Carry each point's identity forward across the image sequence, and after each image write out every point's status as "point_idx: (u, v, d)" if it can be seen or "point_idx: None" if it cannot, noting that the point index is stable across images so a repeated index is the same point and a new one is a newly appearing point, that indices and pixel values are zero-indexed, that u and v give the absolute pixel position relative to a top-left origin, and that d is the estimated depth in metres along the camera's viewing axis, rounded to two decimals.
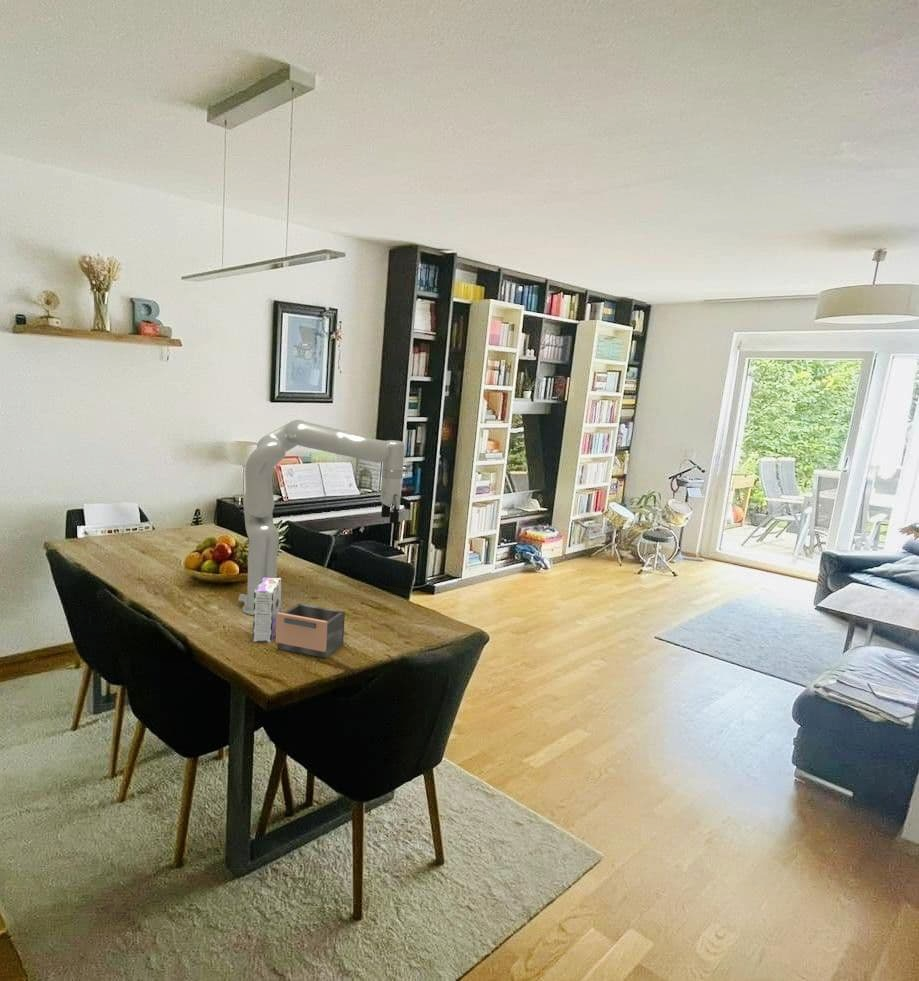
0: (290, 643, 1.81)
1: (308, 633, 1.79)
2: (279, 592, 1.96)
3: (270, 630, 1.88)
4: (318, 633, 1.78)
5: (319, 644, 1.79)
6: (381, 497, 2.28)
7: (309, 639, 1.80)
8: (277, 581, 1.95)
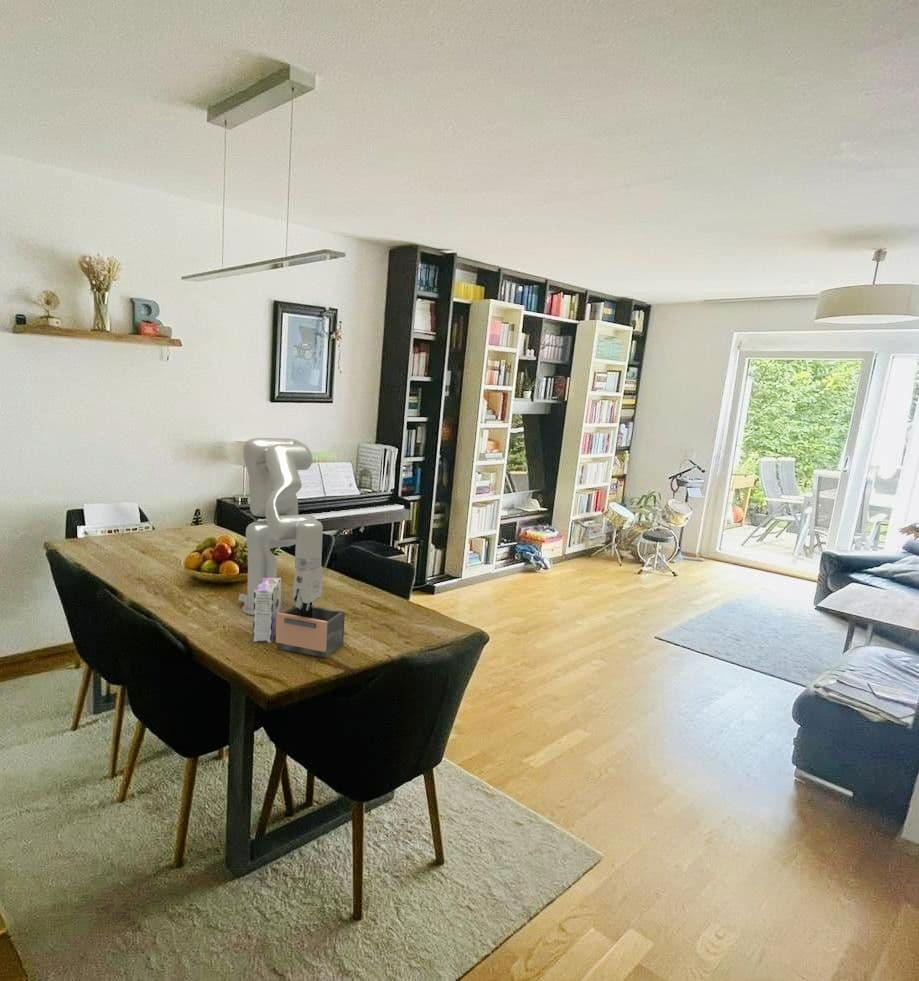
0: (290, 643, 1.81)
1: (308, 633, 1.79)
2: (279, 592, 1.96)
3: (270, 630, 1.88)
4: (318, 633, 1.78)
5: (319, 644, 1.79)
6: (311, 596, 1.78)
7: (309, 639, 1.80)
8: (277, 581, 1.95)
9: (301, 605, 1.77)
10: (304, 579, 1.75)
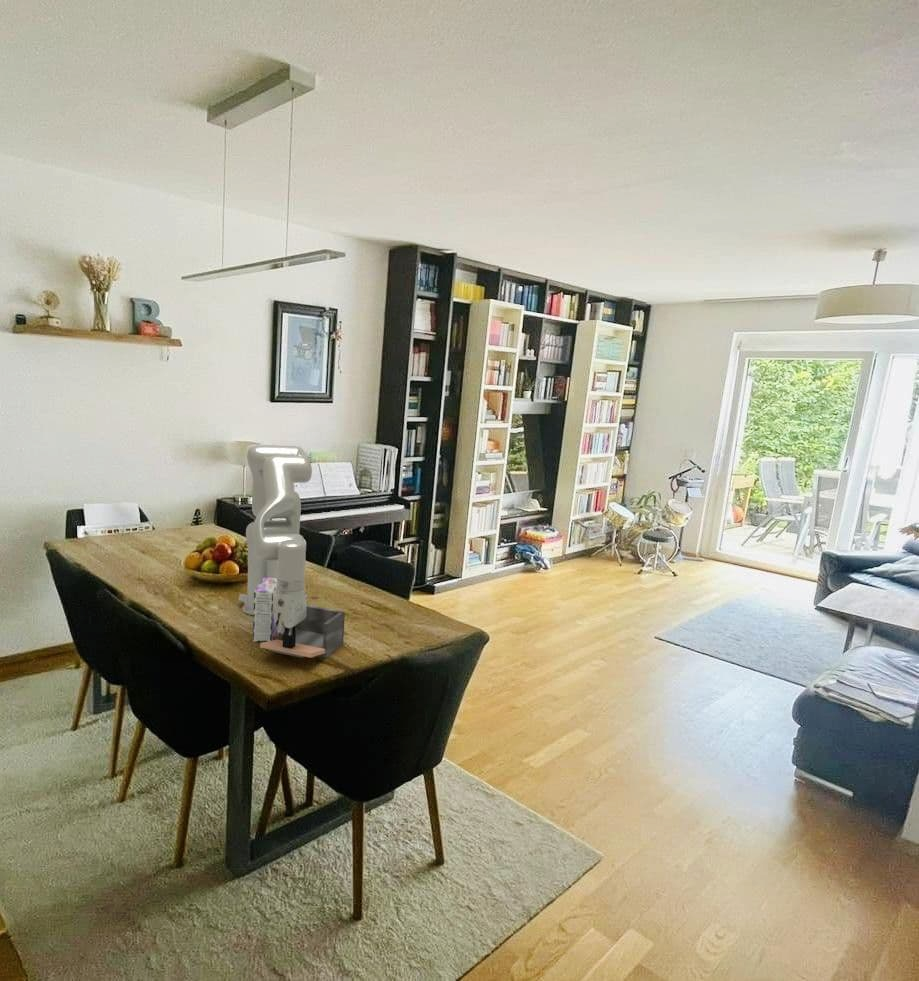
0: None
1: None
2: None
3: (270, 630, 1.88)
4: None
5: None
6: (293, 620, 1.70)
7: None
8: None
9: (283, 630, 1.69)
10: (286, 602, 1.67)
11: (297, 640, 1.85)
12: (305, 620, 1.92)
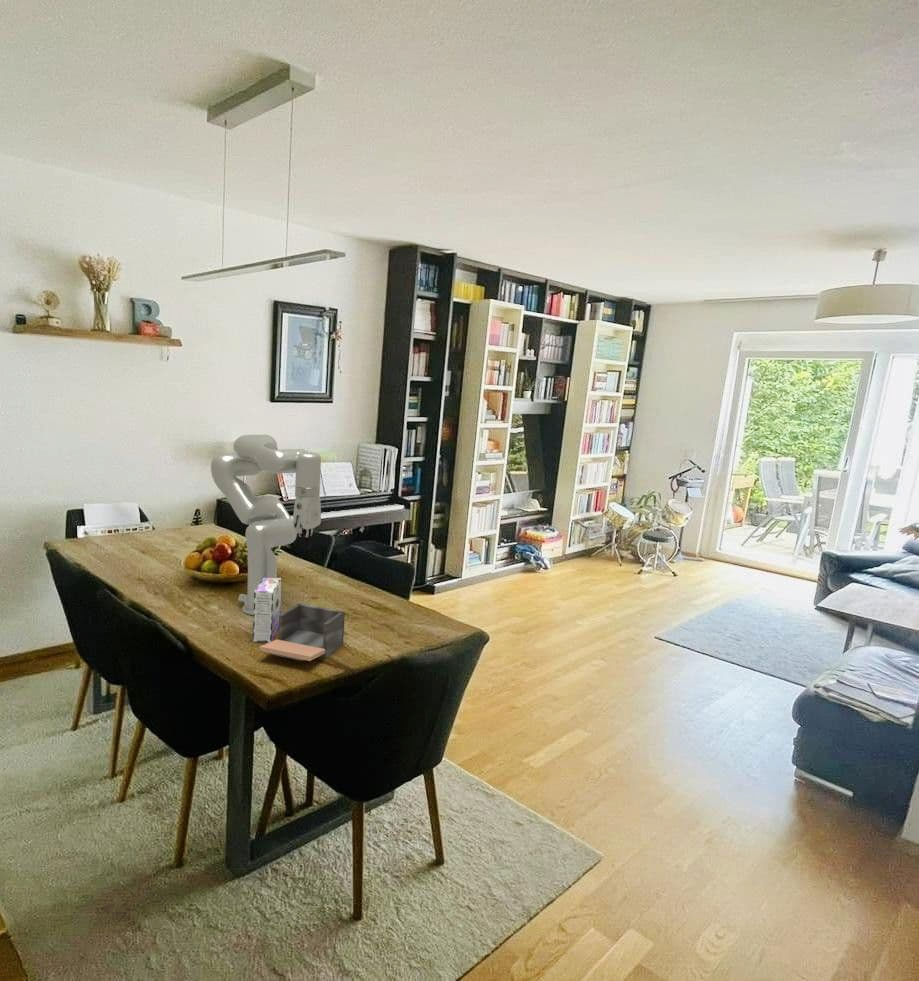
0: None
1: None
2: (279, 592, 1.96)
3: (270, 630, 1.88)
4: None
5: None
6: (310, 523, 1.91)
7: None
8: (277, 581, 1.95)
9: (301, 531, 1.91)
10: (303, 506, 1.89)
11: (297, 640, 1.85)
12: (305, 620, 1.92)
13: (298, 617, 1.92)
